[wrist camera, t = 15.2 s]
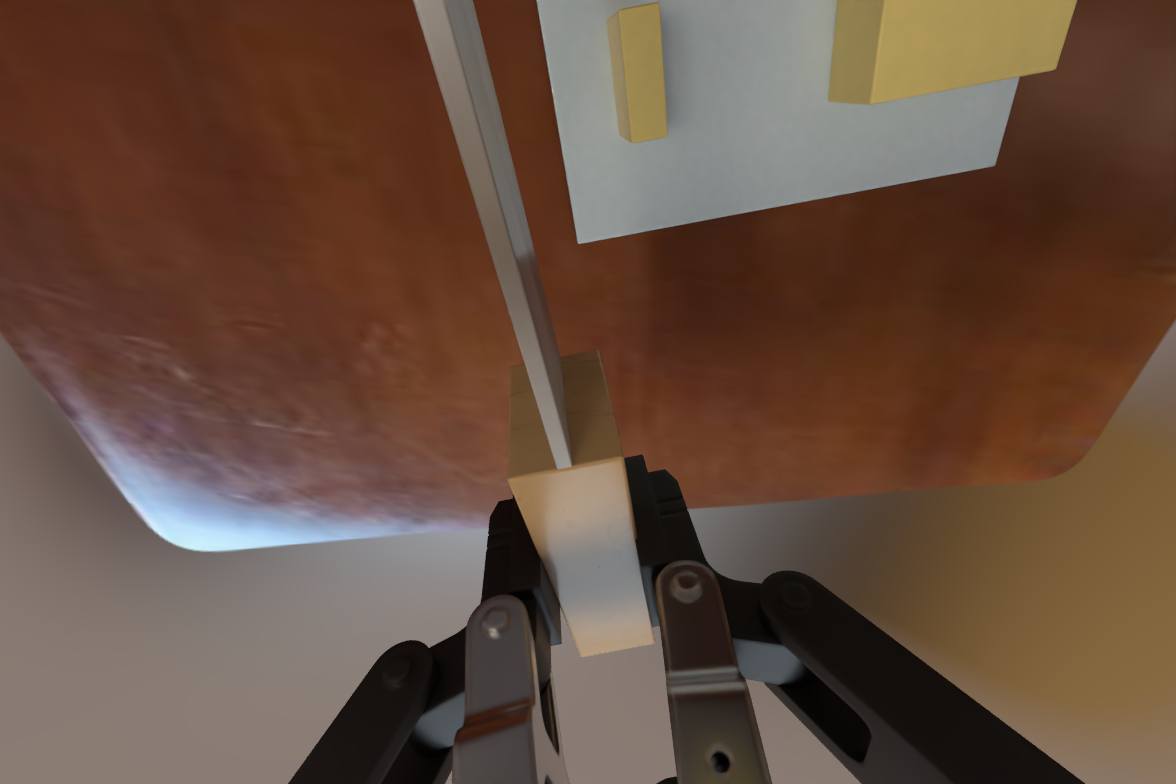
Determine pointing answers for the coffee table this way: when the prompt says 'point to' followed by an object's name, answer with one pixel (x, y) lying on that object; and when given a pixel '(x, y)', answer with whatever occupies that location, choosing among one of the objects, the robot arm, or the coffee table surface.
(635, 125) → the butter slice
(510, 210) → the knife
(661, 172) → the light grey flat board
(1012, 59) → the butter stick
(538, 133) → the coffee table surface
